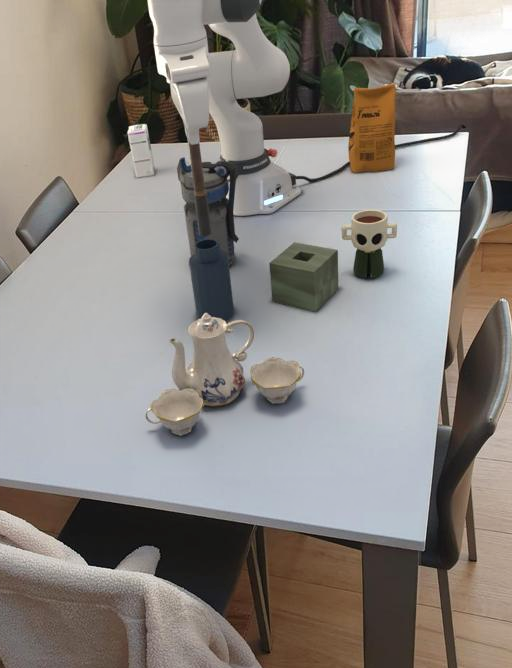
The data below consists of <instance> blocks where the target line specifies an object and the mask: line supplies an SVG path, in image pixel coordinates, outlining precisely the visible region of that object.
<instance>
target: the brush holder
mask: <svg viewBox="0 0 512 668" xmlns="http://www.w3.org/2000/svg"><path fill="white" fill-rule="evenodd" d="M268 265H269V276H270V277H269V278H270V290H271V301H272V302H273V303H277V304H281V305H285V306H289V307H294V308H298V309H302V310H307V311H311V312H314V313H315V312H317V311H318V310H319V309H320V308H321V307H322V306H323V305H324V304H325V303H326V302H327V301H329V300H330V298H331V297H332V296H333V295H334V294H335V293H336V292H337V291H338V290H339V251H338V249H335V248H330V247H324V246H318V245H313V244H308V243H307V244H305V243H302V242H296V241H294V242H292V243H291V244H290V245H289V246H288V247H287V248H285V249H284V250H283V251H282V252H281V253H279V255H277V256H276V257H274V258H273V259H272V260H271V261H270V262H269V264H268Z"/></svg>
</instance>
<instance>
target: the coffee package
mask: <svg viewBox="0 0 512 668" xmlns="http://www.w3.org/2000/svg"><path fill="white" fill-rule="evenodd" d="M396 92H397V87H396V83H389V84H386V85H383V86H379V87H376V88H371V87H369V88H367V87H354V90H353V104H352V109H351V119H350V130H349V134H348V149H347V151H348V160H349V161H350V165H349V166H350V167H349V169H350V171H351V172H352V173H354V174H359V173H364V172H372V173H378V172H383V171H387V170H393V169H394V167H395V162H396V148H395V145H396V142H395V141H396V140H395V135H396V132H395V131H396V102H395V97H396ZM349 161H348V162H349Z"/></svg>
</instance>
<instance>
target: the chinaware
mask: <svg viewBox="0 0 512 668" xmlns="http://www.w3.org/2000/svg"><path fill="white" fill-rule="evenodd" d="M235 325H245V326H247V328H248V330H249V336H248V340H247V342H246V343H245V344H244V346H243V347H241V348H240V349H239V350H237V351H235V352H234V353H233V354H232V353H231V351H230V350H229V347H228V346H227V345H228V344H227V340H226V334H230V335H231V334H233V333H234V329H233V327H232V326H235ZM187 329H188V333H189V335H190V336H191V339H192V341H193V348H194V349H193V350H194V351H193V356H192V360H191V362H190V364H189V366H188V368H187V369H186V353H185V346H184V344H183V343H182V341H181V340H179V339H177V338H170V339H169V340H168V343H171V344H172V345H173V346H174V348H175V350H174V357H173V362H172V363H173V364H172V368H171V378H172V381H173V383H174V386H176V387H177V389H175V388H170V389H169V388H168V389H165V390H164V391H163V392H162V393H160V395H159V397H158V398H157V399H154V400H153V401H152V403H151V404H150V408H148V409H147V410H146V412H145V419H146V421H147V422H148V423H150V424H153V425H157V424H159V423H161V425H162V427H163V428H166V429H168V430H170V431H171V433H172V434H174V435H178V436H181V437H182V436H184V435H186V434H189V433H191V432H192V428H193V427H194V426H195V425H196V423H197V422H198V419H199V418H200V413H201V410H202V409H203V407H204V406H205V407H211V408H213V407H223V406H225V405H229V404H230V403H233V402H234V401H235V400H236V399H237V398H239V396H240V395H241V390H242V388H244V386H245V385H246V378H245V375H244V367H243V366H242V364H241V363H240V362H245V361H246V360H247V358H248V353H247V352H246V351H247V350H248V349H249V348H250V346H251V345H252V343H253V341H254V338H255V331H254V327H253V325H252V324H250V323H249V322H248V321H246V320H244V319H236V320H232V321H230V322H228V323H227V321H226V322H225V321H224V320H222V319H221V318H216V317H211V316H210V315H209V314H208V313H204V315H203V316H202V318H201V319H198V318H197V320H195V321H193V322H192V323H191V324H190V325H188V328H187ZM304 376H305V369H304V368H303V367H302V366H301V365H299V363H298V361H294V360H284V359H283V358H281V357H274V356H273V357H270V358H267V359H266V360H264V361H263V362H262V363H256V364H254V365H252V366H251V368H250V380H251V383H252V384H253V385H254V386H255V387H256V388H257V390H258V392H259V393H260V394H261V395H262V396H263V397H265V398H266V399H267V401H268V402H270V403H271V404H283V403H285V402H286V401H287V399H288V398H289V396H291V394H292V393H293V392H294V391H295V388H296V387H297V383H299V382H301V380H302V379H303V377H304ZM149 412H152V413H153V414H154V416H155V417H156V418H157V419H158V421H153V420H151V419H149V417H148V413H149Z"/></svg>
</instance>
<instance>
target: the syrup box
mask: <svg viewBox="0 0 512 668" xmlns="http://www.w3.org/2000/svg"><path fill="white" fill-rule="evenodd" d="M126 132H127V137H128V142H129V143H128V144H129V148H130V154H131V158H132V163H133V167H134V168H133V169H134V173H135V177H136V178H145V177H151V176H155V169H156V168H155V162H154V157H153V150H152V145H151V140H150V135H149V130H148V125H147V123H139V124H134V125H130V126H128V129H127V131H126Z"/></svg>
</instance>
